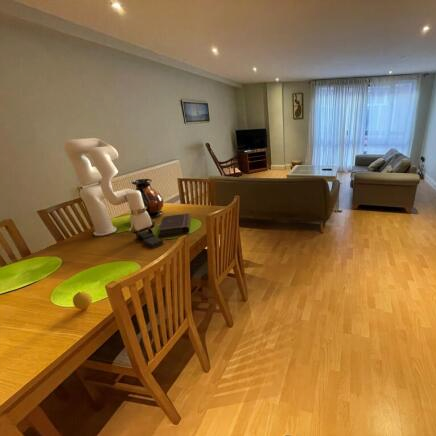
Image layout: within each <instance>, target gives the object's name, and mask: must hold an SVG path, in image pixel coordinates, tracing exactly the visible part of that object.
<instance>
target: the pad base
mask: <svg viewBox="0 0 436 436" xmlns="http://www.w3.org/2000/svg"><path fill="white" fill-rule="evenodd" d="M143 245H145V246H148V247H150V248H152V249H155V248H157V247H159V246H162V245H164V242H163V240H162V239H160V238H158V237H156V236H155V237H153V236H152V237H150V238H148V239H145V240H143Z"/></svg>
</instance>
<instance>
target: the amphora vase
mask: <svg viewBox="0 0 436 436" xmlns="http://www.w3.org/2000/svg"><path fill="white" fill-rule="evenodd" d="M152 181H153V180H152V178H151V179H150V178H139V179H136V180H135V179H134V180H133V181H131V184H132V185H134V186H135V190H138V191H140V192H141V196H142V199H143V203H144V207H147V209H146V211H147V212H148V214H149V216H150V219H151V220H153V219H156V218H159V217H160V216H162V215H163V211H162V210H163V208H164V205H165V203H164V199H163V197H162V195H161V194H160V192H158V191H157V190H156V189H154V188H153V187H152V186H151V183H152Z"/></svg>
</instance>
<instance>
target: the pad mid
mask: <svg viewBox="0 0 436 436" xmlns="http://www.w3.org/2000/svg"><path fill="white" fill-rule="evenodd" d="M140 234H141V237H142V240H141V241H143V240H145V239H148V238H150V237H152V236H153V237H156V236H155V233H153V234H152V233H149V232H148V230H147V231H146V230H143V231H141V232H140ZM135 236H136V237H137V235H136V234H135Z"/></svg>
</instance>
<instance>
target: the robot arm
mask: <svg viewBox="0 0 436 436" xmlns="http://www.w3.org/2000/svg"><path fill="white" fill-rule="evenodd" d="M63 151H64V154H65V155H66V157H67V158H68V159H69V161H70V163H71V165H72V169H73V171H74V173H75V176H76V179H77V181H78V183H80V184H81V185H88V186H85V187H82V188H80V190H79V196H80V198H81V200H82V201H83V203H84V204H85V207H86V209H87V211H88V215H89V217H90V220H91V222H92V225H93V228H94V230H95V231H94V232H93V235H94V236H95V237H104V236H109V235H110V234H113V233H115V232H117V229H118V228H117V227H116V226H113V223H112V220H111V217H110V212H109V211H108V208H107V206H106V204H105V203H104V202H102V200H104V199H106V201H108V203H110V204H111V205H113V206H119V205H122V204H126V203H127V204H128V207H129V211H130V214H129V221H130V225H131V227H130V228H129V230H128V232H129V233H132V234H135V236H136V235H137V236H136V239H138V240H139V241H142V237H141V234H140V233H141V232H140V230H141V229H144V228H146V227H147V228H148V229H147V232H149V233H152V234H154V232H153V228H154V227H155V224H156V221H154V220H153V219H150V216H149V214H148V212H147V211H146V209H147V207H144V203H143V199H142V196H141V192H140V191H138V190H136V189H132V188H123V189H119V190H117V191H114V188H113V184H112V182H111V180H112V179H113V178H114V177H115V176H117V175H118V173H119V170H118V169H117V167H116V165H115V164H114V163H113V161H116V160H118V159H119V152H118V150H117V149H116V148H115V147H114V146H112V145H111V144H109V143H107V142H105V141H104V140H102V139H99V138H96V137H89V138H87V137H86V138H75V139H74V138H73V139H69V140H67V141H65V142H64V143H63ZM86 155H87V156H88V157H89V158H88V157H87V156H86ZM91 162H92V163H91ZM92 164H93V165H94V166H92ZM94 183H95V184H94ZM91 184H92V185H91ZM153 226H154V227H153Z"/></svg>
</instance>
